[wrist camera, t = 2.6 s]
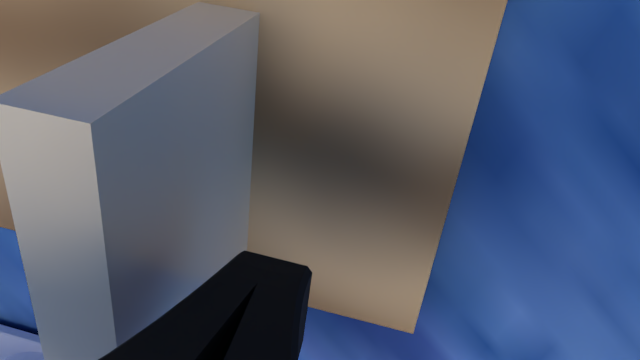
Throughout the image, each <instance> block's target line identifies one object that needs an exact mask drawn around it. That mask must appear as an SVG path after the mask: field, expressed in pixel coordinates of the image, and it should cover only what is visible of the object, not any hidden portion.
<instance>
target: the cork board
mask: <svg viewBox="0 0 640 360" xmlns="http://www.w3.org/2000/svg"><path fill="white" fill-rule="evenodd" d="M507 1H508V0H0V94H3V93H5V92H7V91H9V90H11V89H13V88H15V87H17V86H20V85H22V84H24V83H26V82H28V81H30V80H32V79H35V78H37V77H39V76H41V75H43V74H45V73H47V72H50V71H52V70H54V69H56V68H58V67H60V66H62V65H64V64H67V63H69V62H71V61H73V60H75V59H77V58H79V57H82V56H84V55H86V54H88V53H90V52H92V51H94V50H97V49H99V48H101V47H103V46H105V45H107V44H109V43H111V42H114V41H116V40H118V39H120V38H122V37H124V36H126V35H129V34H131V33H133V32H135V31H137V30H139V29H141V28H144V27H146V26H148V25H150V24H152V23H154V22H156V21H159V20H161V19H163V18H165V17H167V16H169V15H171V14H173V13H176V12H178V11H180V10H182V9H184V8H186V7H188V6H191V5H193V4H195V3H197V2H203V3H208V4H214V5H220V6H225V7H231V8H236V9H242V10H248V11H253V12H259V13H260V17H259V36H258V55H257V74H256V92H255V111H254V130H253V149H252V167H251V186H250V205H249V224H248V242H247V251H249V252H253V253H257V254H261V255H265V256H269V257H273V258H277V259H281V260H285V261H289V262H293V263H297V264H301V265H305V266H308V267H309V269H310V270H311V271H312V279H311V286H310V293H309V300H308V307H312V308H316V309H319V310H323V311H327V312H331V313H335V314H339V315H343V316H346V317H350V318H354V319H358V320H362V321H366V322H370V323H373V324H377V325H381V326H385V327H389V328H393V329H397V330H400V331H404V332H408V333H412V334H413V332H414V329H415V325H416V322H417V318H418V315H419V311H420V308H421V304H422V300H423V297H424V293H425V290H426V286H427V283H428V279H429V276H430V272H431V269H432V265H433V262H434V258H435V255H436V251H437V248H438V244H439V241H440V237H441V233H442V230H443V226H444V223H445V219H446V216H447V212H448V209H449V205H450V202H451V198H452V195H453V191H454V188H455V184H456V181H457V177H458V173H459V170H460V166H461V163H462V159H463V156H464V152H465V149H466V145H467V142H468V138H469V135H470V131H471V128H472V124H473V121H474V117H475V113H476V110H477V106H478V103H479V99H480V96H481V92H482V89H483V85H484V82H485V78H486V75H487V71H488V68H489V64H490V61H491V57H492V53H493V50H494V46H495V43H496V39H497V36H498V32H499V29H500V25H501V22H502V18H503V15H504V11H505V8H506V4H507ZM0 227H3V228H7V229H11V230H15V226H14V221H13V217H12V212H11V208H10V203H9V199H8V194H7V190H6V185H5V181H4V176H3V172H2V167H1V163H0ZM15 231H16V230H15Z"/></svg>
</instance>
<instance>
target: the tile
mask: <svg viewBox="0 0 640 360" xmlns="http://www.w3.org/2000/svg"><path fill="white" fill-rule="evenodd" d="M259 17H260V13H259V12H253V11H248V10H242V9H236V8H231V7H225V6H220V5H214V4H208V3H203V2H197V3H195V4H193V5H191V6H188V7H186V8H184V9H182V10H180V11H178V12H176V13H173V14H171V15H169V16H167V17H165V18H163V19H161V20H159V21H156V22H154V23H152V24H150V25H148V26H146V27H144V28H141V29H139V30H137V31H135V32H133V33H131V34H129V35H126V36H124V37H122V38H120V39H118V40H116V41H114V42H111V43H109V44H107V45H105V46H103V47H101V48H99V49H97V50H94V51H92V52H90V53H88V54H86V55H84V56H82V57H79V58H77V59H75V60H73V61H71V62H69V63H67V64H64V65H62V66H60V67H58V68H56V69H54V70H52V71H50V72H47V73H45V74H43V75H41V76H39V77H37V78H35V79H32V80H30V81H28V82H26V83H24V84H22V85H20V86H17V87H15V88H13V89H11V90H9V91H7V92H5V93H3V94H0V163H1V167H2V172H3V176H4V181H5V185H6V190H7V194H8V199H9V203H10V208H11V212H12V217H13V221H14V226H15V230H16V235H17V239H18V244H19V248H20V253H21V257H22V262H23V266H24V271H25V275H26V280H27V284H28V289H29V293H30V298H31V302H32V307H33V311H34V316H35V320H36V325H37V329H38V334H39V338H40V343H41V347H42V352H43V356H44V360H98V359H100V358H101V357H103V356H105V355H106V354H108V353H109V352H111V351H112V350H114V349H115V348H117V347H118V346H120V345H121V344H122V343H124V342H125V341H127V340H128V339H130V338H131V337H133V336H134V335H135V334H137V333H138V332H140V331H141V330H143V329H144V328H146V327H147V326H148V325H150V324H151V323H153V322H154V321H155V320H157V319H158V318H160V317H161V316H162V315H163V314H165V313H166V312H167V311H169V310H170V309H171V308H173V307H174V306H175V305H177V304H178V303H179V302H180V301H182V300H183V299H184V298H186V297H187V296H188V295H190V294H191V293H192V292H193V291H195V290H196V289H197V288H198V287H200V286H201V285H202V284H203V283H204V282H206V281H207V280H208V279H209V278H211V277H212V276H213V275H214V274H215V273H217V272H218V271H219V270H220V269H221V268H222V267H224V266H225V265H226V264H227V263H228V262H229V261H231V260H232V259H233V258H234V257H235V256H236V255H238V254H239V253H241V252H242V251H244V250H245V251H247V242H248V224H249V205H250V186H251V167H252V149H253V130H254V111H255V92H256V74H257V55H258V36H259Z"/></svg>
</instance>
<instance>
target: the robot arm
mask: <svg viewBox="0 0 640 360" xmlns="http://www.w3.org/2000/svg"><path fill="white" fill-rule="evenodd" d="M311 279H312V271H311V270H310V269H309V267H308V266H305V265H301V264H297V263H293V262H289V261H285V260H281V259H277V258H273V257H269V256H265V255H261V254H257V253H253V252H249V251H245V250H244V251H242V252H241V253H239V254H238V255H236V256H235V257H234V258H233V259H232V260H231V261H229V262H228V263H227V264H226V265H225V266H224V267H222V268H221V269H220V270H219V271H218V272H217V273H215V274H214V275H213V276H212V277H211V278H209V279H208V280H207V281H206V282H204V283H203V284H202V285H201V286H200V287H198V288H197V289H196V290H195V291H193V292H192V293H191V294H190V295H188V296H187V297H186V298H184V299H183V300H182V301H180V302H179V303H178V304H177V305H175V306H174V307H173V308H171V309H170V310H169V311H167V312H166V313H165V314H163V315H162V316H161V317H160V318H158V319H157V320H155V321H154V322H153V323H151V324H150V325H148V326H147V327H146V328H144V329H143V330H141V331H140V332H138V333H137V334H135V335H134V336H133V337H131V338H130V339H128V340H127V341H125V342H124V343H122V344H121V345H120V346H118V347H117V348H115V349H114V350H112V351H111V352H109V353H108V354H106V355H105V356H103V357H101V358H100V359H98V360H298V357H299V353H300V349H301V346H302V342H303V336H304V329H305V321H306V314H307V307H308V300H309V293H310V286H311ZM0 360H44V356H43V352H42V347H41V343H40V338H39V335H36V334H32V333H29V332H25V331H22V330H18V329H15V328H11V327H8V326H4V325H1V324H0Z"/></svg>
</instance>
